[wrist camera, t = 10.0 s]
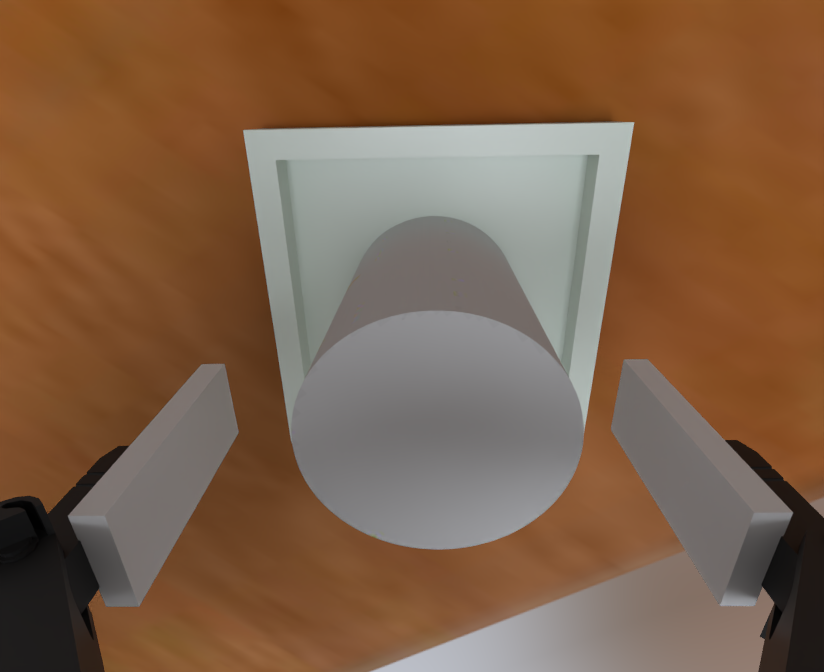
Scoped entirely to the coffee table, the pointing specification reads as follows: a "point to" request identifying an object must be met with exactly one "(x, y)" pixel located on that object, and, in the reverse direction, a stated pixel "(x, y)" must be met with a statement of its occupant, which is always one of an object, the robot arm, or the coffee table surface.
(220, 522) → the coffee table surface
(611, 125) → the tray
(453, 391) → the cup
